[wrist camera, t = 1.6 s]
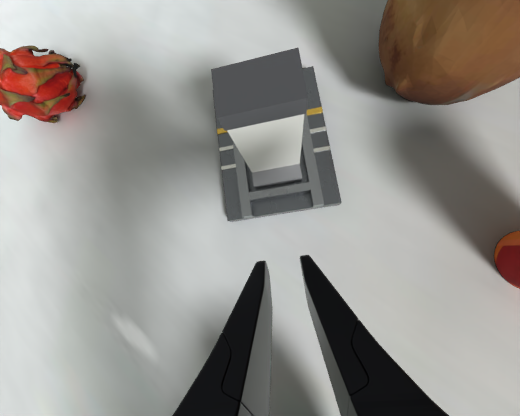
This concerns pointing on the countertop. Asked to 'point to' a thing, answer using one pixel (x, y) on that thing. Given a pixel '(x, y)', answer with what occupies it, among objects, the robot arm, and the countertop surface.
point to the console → (289, 194)
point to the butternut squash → (449, 48)
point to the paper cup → (509, 258)
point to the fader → (264, 113)
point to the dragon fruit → (37, 84)
